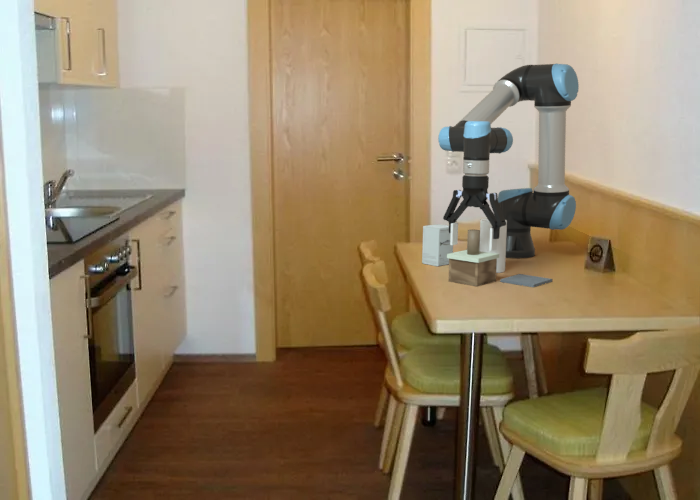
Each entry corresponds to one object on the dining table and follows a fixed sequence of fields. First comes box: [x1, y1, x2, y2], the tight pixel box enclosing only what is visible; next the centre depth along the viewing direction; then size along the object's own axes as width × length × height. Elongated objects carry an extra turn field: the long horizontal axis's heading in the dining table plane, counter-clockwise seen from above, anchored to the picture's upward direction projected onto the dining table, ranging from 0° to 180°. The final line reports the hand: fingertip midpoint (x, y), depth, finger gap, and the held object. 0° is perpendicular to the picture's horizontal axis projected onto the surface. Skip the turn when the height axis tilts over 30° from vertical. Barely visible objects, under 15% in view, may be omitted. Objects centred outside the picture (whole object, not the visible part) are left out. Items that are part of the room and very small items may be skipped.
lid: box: [447, 229, 499, 263], centre depth 244 cm, size 11×11×8 cm
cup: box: [479, 218, 507, 274], centre depth 261 cm, size 8×8×16 cm
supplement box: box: [421, 224, 454, 267], centre depth 272 cm, size 7×7×13 cm
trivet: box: [499, 273, 553, 288], centre depth 245 cm, size 11×11×1 cm
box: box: [448, 258, 497, 287], centre depth 245 cm, size 10×10×7 cm
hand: (473, 247), depth 244 cm, fingers open, 13 cm apart
